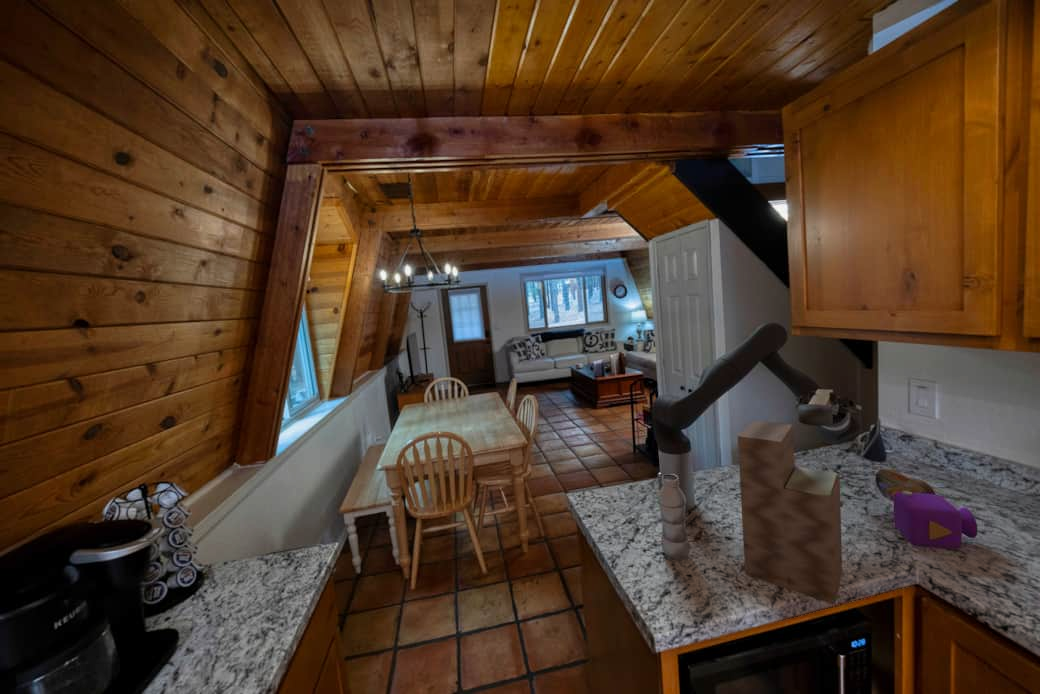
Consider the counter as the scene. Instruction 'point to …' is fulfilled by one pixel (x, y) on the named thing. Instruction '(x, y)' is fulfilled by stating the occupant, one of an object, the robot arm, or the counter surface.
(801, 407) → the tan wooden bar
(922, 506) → the toy camera
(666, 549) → the plastic bottle
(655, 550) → the counter surface
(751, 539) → the step stand
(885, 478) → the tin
